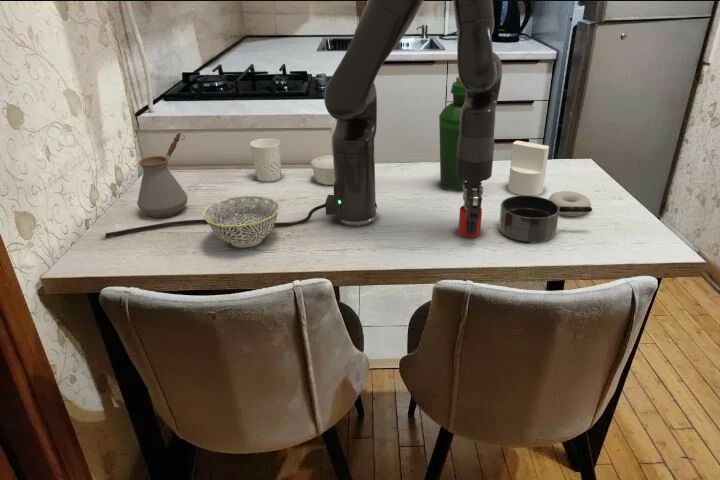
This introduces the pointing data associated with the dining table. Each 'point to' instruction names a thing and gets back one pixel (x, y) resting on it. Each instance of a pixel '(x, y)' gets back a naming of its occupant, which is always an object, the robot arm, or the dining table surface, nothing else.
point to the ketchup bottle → (463, 222)
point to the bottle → (451, 138)
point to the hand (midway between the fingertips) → (469, 228)
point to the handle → (575, 209)
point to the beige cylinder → (266, 159)
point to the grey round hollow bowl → (528, 218)
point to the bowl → (242, 219)
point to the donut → (570, 201)
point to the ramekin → (323, 169)
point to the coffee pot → (160, 186)
